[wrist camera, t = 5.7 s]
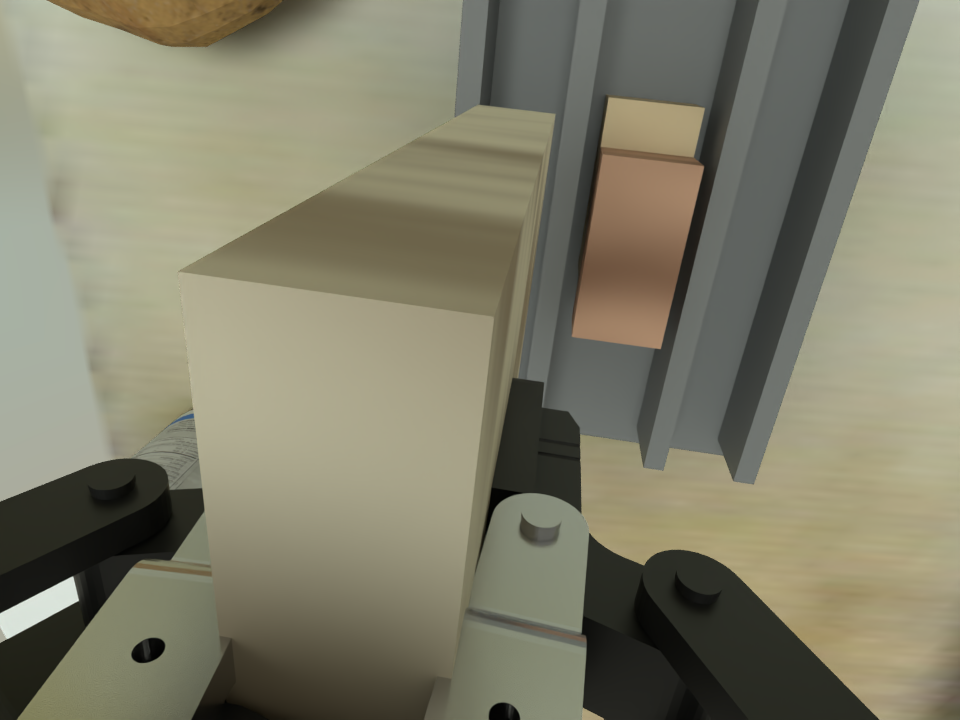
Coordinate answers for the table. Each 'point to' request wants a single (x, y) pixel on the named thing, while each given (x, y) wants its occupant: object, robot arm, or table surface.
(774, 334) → the rack
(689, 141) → the offcut lower
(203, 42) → the potato
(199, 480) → the supplement tub
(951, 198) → the table surface
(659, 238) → the offcut upper
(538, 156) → the sheet
